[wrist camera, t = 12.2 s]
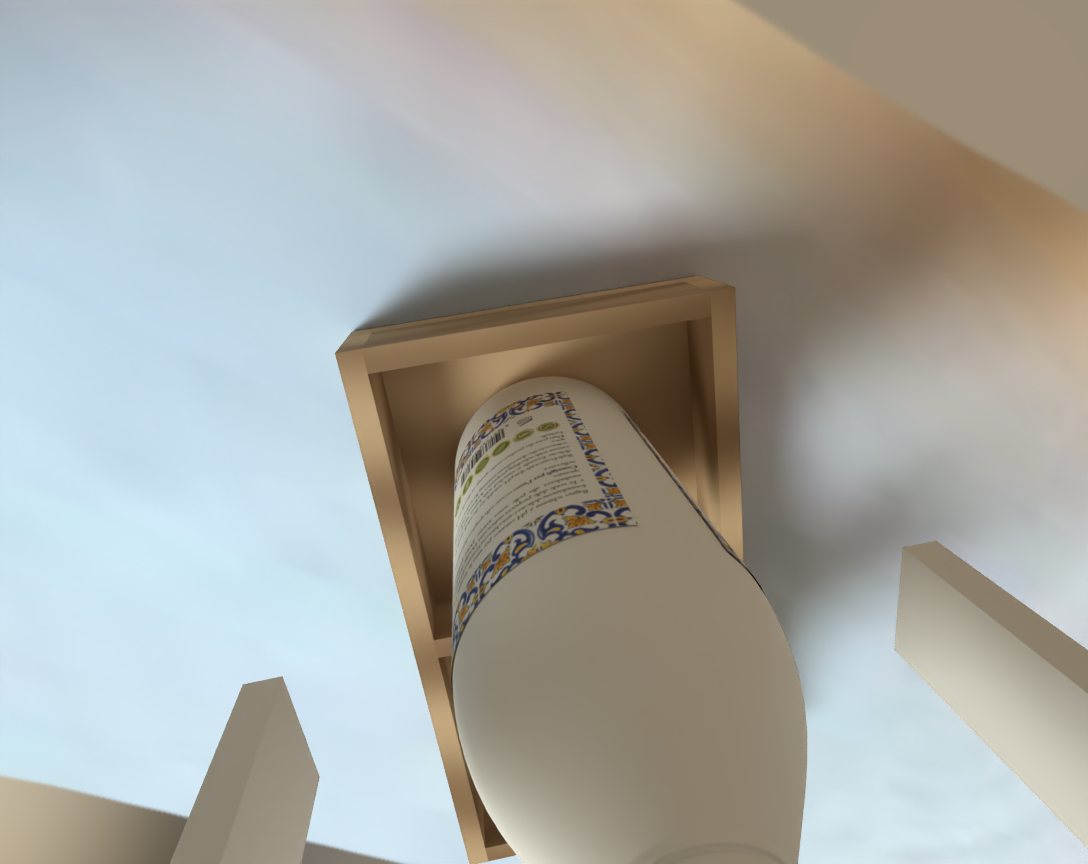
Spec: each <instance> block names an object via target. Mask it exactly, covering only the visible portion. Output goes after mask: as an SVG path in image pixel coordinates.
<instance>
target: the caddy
mask: <svg viewBox="0 0 1088 864" xmlns="http://www.w3.org/2000/svg"><path fill="white" fill-rule="evenodd" d="M335 355H336V359H337V362H338V366H339V370H340V374H341V378H342V381H343V385H344V389H345V393H346V397H347V400H348V404H349V408H350V412H351V416H352V419H353V423H354V427H355V431H356V435H357V438H358V442H359V446H360V450H361V454H362V457H363V461H364V465H365V469H366V473H367V476H368V480H369V484H370V488H371V491H372V495H373V499H374V503H375V507H376V510H377V514H378V518H379V522H380V526H381V529H382V533H383V537H384V541H385V545H386V548H387V552H388V556H389V560H390V564H391V567H392V571H393V575H394V579H395V583H396V586H397V590H398V594H399V598H400V602H401V605H402V609H403V613H404V617H405V621H406V624H407V628H408V632H409V636H410V640H411V643H412V647H413V651H414V655H415V658H416V662H417V666H418V670H419V674H420V677H421V681H422V685H423V689H424V693H425V696H426V700H427V704H428V708H429V712H430V715H431V719H432V723H433V727H434V731H435V734H436V738H437V742H438V746H439V750H440V753H441V757H442V761H443V765H444V769H445V772H446V776H447V780H448V784H449V788H450V791H451V795H452V799H453V803H454V807H455V810H456V814H457V818H458V822H459V825H460V829H461V833H462V837H463V841H464V844H465V848H466V852H467V856H468V860H469V863H470V864H478V863H482V862H487V861H492V860H496V859H501V858H505V857H510V856H514V855H516V854H515V852H514V851H513V850H512V848H511V847H510V846H509V844H508V843H507V842H506V840H505V839H504V838H503V836H502V835H501V833H500V831H499V830H498V828H497V827H496V825H495V823H494V822H493V820H492V819H491V817H490V815H489V814H488V812H487V810H486V808H485V806H484V804H483V802H482V800H481V798H480V796H479V794H478V791H477V789H476V787H475V785H474V782H473V780H472V777H471V774H470V771H469V768H468V766H467V763H466V760H465V756H464V753H463V749H462V745H461V741H460V737H459V732H458V727H457V722H456V716H455V708H454V702H453V697H452V688H451V658H452V592H453V526H454V482H455V461H456V454H457V449H458V445H459V442H460V439H461V436H462V434H463V432H464V430H465V428H466V426H467V424H468V422H469V421H470V419H471V418H472V416H473V415H474V414H475V413H476V411H477V410H478V409H479V408H480V407H481V406H482V405H483V404H484V403H485V402H486V401H487V400H488V399H490V398H491V397H492V396H494V395H495V394H496V393H498V392H499V391H501V390H503V389H505V388H507V387H509V386H511V385H513V384H515V383H518V382H521V381H524V380H528V379H532V378H537V377H547V376H558V377H567V378H572V379H577V380H580V381H583V382H586V383H589V384H591V385H593V386H595V387H597V388H599V389H601V390H602V391H604V392H605V393H607V394H608V395H609V396H611V397H612V398H613V399H614V400H615V401H616V402H617V403H618V404H619V405H620V406H621V407H622V408H623V409H624V410H625V412H626V413H627V414H628V415H629V417H630V418H631V419H632V421H633V422H634V423H635V424H636V425H637V426H638V427H639V429H640V430H641V431H642V433H643V434H644V435H645V437H646V438H647V439H648V440H649V442H650V443H651V444H652V446H653V447H654V448H655V449H656V451H657V452H658V453H659V455H660V456H661V457H662V459H663V460H664V461H665V462H666V464H667V465H668V466H669V468H670V469H671V470H672V471H673V473H674V474H675V475H676V477H677V478H678V479H679V481H680V482H681V483H682V484H683V486H684V487H685V488H686V490H687V491H688V492H689V493H690V495H691V496H692V497H693V499H694V500H695V501H696V503H697V504H698V505H699V506H700V508H701V509H702V510H703V512H704V513H705V514H706V515H707V517H708V518H709V519H710V521H711V522H712V523H713V525H714V526H715V527H716V528H717V530H718V531H719V532H720V534H721V535H722V536H723V537H724V539H725V540H726V541H727V543H728V544H729V545H730V547H731V548H732V549H733V550H734V552H735V553H736V554H737V556H738V557H739V558H740V559H741V561H742V562H743V530H742V498H741V467H740V435H739V403H738V372H737V340H736V308H735V287H732V286H729V285H726V284H723V283H720V282H717V281H714V280H711V279H708V278H705V277H702V276H699V275H698V276H692V277H686V278H680V279H674V280H668V281H661V282H655V283H649V284H643V285H637V286H631V287H624V288H618V289H612V290H606V291H600V292H594V293H587V294H581V295H575V296H569V297H563V298H557V299H550V300H544V301H538V302H532V303H526V304H520V305H513V306H507V307H501V308H495V309H489V310H483V311H476V312H470V313H464V314H458V315H452V316H446V317H439V318H433V319H427V320H421V321H415V322H409V323H403V324H396V325H390V326H384V327H378V328H372V329H366V330H359V331H353V332H351V333H350V335H349V336H348V337H347V339H346V340H345V341H344V342H343V344H342V345H341V346H340V348H339V349H338V350H337V351H336V353H335ZM743 563H744V562H743Z"/></svg>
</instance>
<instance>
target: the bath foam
mask: <svg viewBox="0 0 1088 864" xmlns="http://www.w3.org/2000/svg"><path fill="white" fill-rule="evenodd" d="M451 688H452V697H453V702H454V708H455V716H456V722H457V727H458V732H459V737H460V741H461V745H462V749H463V753H464V756H465V760H466V763H467V766H468V768H469V771H470V774H471V777H472V780H473V782H474V785H475V787H476V789H477V791H478V794H479V796H480V798H481V800H482V802H483V804H484V806H485V808H486V810H487V812H488V814H489V815H490V817H491V819H492V820H493V822H494V823H495V825H496V827H497V828H498V830H499V831H500V833H501V835H502V836H503V838H504V839H505V840H506V842H507V843H508V844H509V846H510V847H511V848H512V850H513V851H514V852H515V854H516V855H517V856H518V857H519V859H520V860H521V861H522V862H523V864H798V857H799V847H800V838H801V829H802V819H803V809H804V798H805V787H806V772H807V726H806V715H805V704H804V698H803V693H802V689H801V684H800V679H799V675H798V671H797V668H796V665H795V661H794V658H793V655H792V652H791V649H790V646H789V644H788V641H787V639H786V636H785V634H784V631H783V629H782V627H781V625H780V623H779V621H778V619H777V617H776V614H775V612H774V611H773V609H772V607H771V605H770V603H769V602H768V600H767V598H766V596H765V594H764V592H763V590H762V588H761V586H760V585H759V583H758V582H757V580H756V579H755V578H754V576H753V575H752V574H751V572H750V571H749V570H748V569H747V567H746V566H745V565H744V563H743V562H742V561H741V559H740V558H739V557H738V556H737V554H736V553H735V552H734V550H733V549H732V548H731V547H730V545H729V544H728V543H727V541H726V540H725V539H724V537H723V536H722V535H721V534H720V532H719V531H718V530H717V528H716V527H715V526H714V525H713V523H712V522H711V521H710V519H709V518H708V517H707V515H706V514H705V513H704V512H703V510H702V509H701V508H700V506H699V505H698V504H697V503H696V501H695V500H694V499H693V497H692V496H691V495H690V493H689V492H688V491H687V490H686V488H685V487H684V486H683V484H682V483H681V482H680V481H679V479H678V478H677V477H676V475H675V474H674V473H673V471H672V470H671V469H670V468H669V466H668V465H667V464H666V462H665V461H664V460H663V459H662V457H661V456H660V455H659V453H658V452H657V451H656V449H655V448H654V447H653V446H652V444H651V443H650V442H649V440H648V439H647V438H646V437H645V435H644V434H643V433H642V431H641V430H640V429H639V427H638V426H637V425H636V424H635V423H634V422H633V421H632V419H631V418H630V417H629V415H628V414H627V413H626V412H625V410H624V409H623V408H622V407H621V406H620V405H619V404H618V403H617V402H616V401H615V400H614V399H613V398H612V397H611V396H609V395H608V394H607V393H605V392H604V391H602V390H601V389H599V388H597V387H595V386H593V385H591V384H589V383H586V382H583V381H580V380H577V379H572V378H567V377H558V376H547V377H537V378H532V379H528V380H524V381H521V382H518V383H515V384H513V385H511V386H509V387H507V388H505V389H503V390H501V391H499V392H498V393H496V394H495V395H494V396H492V397H491V398H490V399H488V400H487V401H486V402H485V403H484V404H483V405H482V406H481V407H480V408H479V409H478V410H477V411H476V413H475V414H474V415H473V416H472V418H471V419H470V421H469V422H468V424H467V426H466V428H465V430H464V432H463V434H462V436H461V439H460V442H459V445H458V449H457V454H456V461H455V482H454V526H453V592H452V658H451Z"/></svg>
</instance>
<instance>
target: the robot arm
mask: <svg viewBox="0 0 1088 864" xmlns="http://www.w3.org/2000/svg"><path fill="white" fill-rule="evenodd" d="M894 650H895V651H896V652H897V653H898V654H899V655H900V656H901V657H902V658H903V659H904V660H905V661H906V662H907V663H908V664H909V665H910V666H911V667H912V668H913V669H914V671H915V672H916V673H917V674H918V675H919V676H920V677H921V678H922V679H923V680H924V681H925V682H926V683H927V684H928V685H929V686H930V687H931V688H932V689H933V690H934V691H935V692H936V693H937V694H938V695H939V696H940V697H941V698H942V699H943V700H944V701H945V702H946V703H947V704H948V706H949V707H950V708H951V709H952V710H953V711H954V712H955V713H956V714H957V715H958V716H959V717H960V718H961V719H962V720H963V721H964V722H965V723H966V724H967V725H968V726H969V727H970V728H971V729H972V730H973V731H974V732H975V733H976V734H977V735H978V736H979V737H980V738H981V739H982V741H983V742H984V743H985V744H986V745H987V746H988V747H989V748H990V749H991V750H992V751H993V752H994V753H995V754H996V755H997V756H998V757H999V758H1000V759H1001V760H1002V761H1003V762H1004V763H1005V764H1006V765H1007V766H1008V767H1009V768H1010V769H1011V770H1012V771H1013V772H1014V773H1015V774H1016V775H1017V777H1018V778H1019V779H1020V780H1021V781H1022V782H1023V783H1024V784H1025V785H1026V786H1027V787H1028V788H1029V789H1030V790H1031V791H1032V792H1033V793H1034V794H1035V795H1036V796H1037V797H1038V798H1039V799H1040V800H1041V801H1042V802H1043V803H1044V804H1045V805H1046V806H1047V807H1048V808H1049V809H1050V810H1051V812H1052V813H1053V814H1054V815H1055V816H1056V817H1057V818H1058V819H1059V820H1060V821H1061V822H1062V823H1063V824H1064V825H1065V826H1066V827H1067V828H1068V829H1069V830H1070V831H1071V832H1072V833H1073V834H1074V835H1075V836H1076V837H1077V838H1078V839H1079V840H1080V841H1081V842H1082V843H1083V844H1084V845H1085V846H1086V848H1087V849H1088V650H1087V649H1085V648H1084V647H1083V646H1081V645H1080V644H1078V643H1077V642H1076V641H1074V640H1073V639H1071V638H1070V637H1069V636H1067V635H1066V634H1065V633H1063V632H1062V631H1060V630H1059V629H1058V628H1056V627H1055V626H1053V625H1052V624H1051V623H1049V622H1048V621H1046V620H1045V619H1044V618H1042V617H1041V616H1040V615H1038V614H1037V613H1035V612H1034V611H1033V610H1031V609H1030V608H1028V607H1027V606H1026V605H1024V604H1023V603H1021V602H1020V601H1019V600H1017V599H1016V598H1015V597H1013V596H1012V595H1010V594H1009V593H1008V592H1006V591H1005V590H1003V589H1002V588H1001V587H999V586H998V585H996V584H995V583H994V582H992V581H991V580H990V579H988V578H987V577H985V576H984V575H983V574H981V573H980V572H978V571H977V570H976V569H974V568H973V567H971V566H970V565H969V564H967V563H966V562H965V561H963V560H962V559H960V558H959V557H958V556H956V555H955V554H953V553H952V552H951V551H949V550H948V549H946V548H945V547H944V546H942V545H941V544H940V543H938V542H937V541H933V542H928V543H923V544H919V545H914V546H909V547H904V548H903V550H902V562H901V574H900V587H899V599H898V611H897V623H896V635H895V647H894ZM318 782H319V774H318V771H317V769H316V766H315V763H314V761H313V758H312V755H311V752H310V750H309V747H308V744H307V742H306V739H305V736H304V733H303V731H302V728H301V725H300V723H299V720H298V717H297V715H296V712H295V709H294V706H293V704H292V701H291V698H290V696H289V693H288V690H287V687H286V685H285V682H284V679H283V677H277V678H272V679H267V680H263V681H258V682H253V683H248V684H243V686H242V688H241V691H240V693H239V695H238V698H237V700H236V703H235V705H234V708H233V710H232V713H231V715H230V718H229V720H228V722H227V725H226V727H225V730H224V732H223V735H222V737H221V740H220V742H219V745H218V747H217V749H216V752H215V754H214V757H213V759H212V762H211V764H210V767H209V769H208V772H207V774H206V776H205V779H204V781H203V784H202V786H201V789H200V791H199V794H198V796H197V799H196V801H195V803H194V806H193V808H192V811H191V813H190V816H189V818H188V821H187V823H186V825H185V828H184V830H183V833H182V835H181V838H180V840H179V843H178V845H177V848H176V850H175V852H174V855H173V857H172V860H171V862H170V864H301V861H302V856H303V851H304V847H305V842H306V838H307V833H308V828H309V824H310V819H311V814H312V810H313V805H314V800H315V796H316V791H317V786H318Z"/></svg>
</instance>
